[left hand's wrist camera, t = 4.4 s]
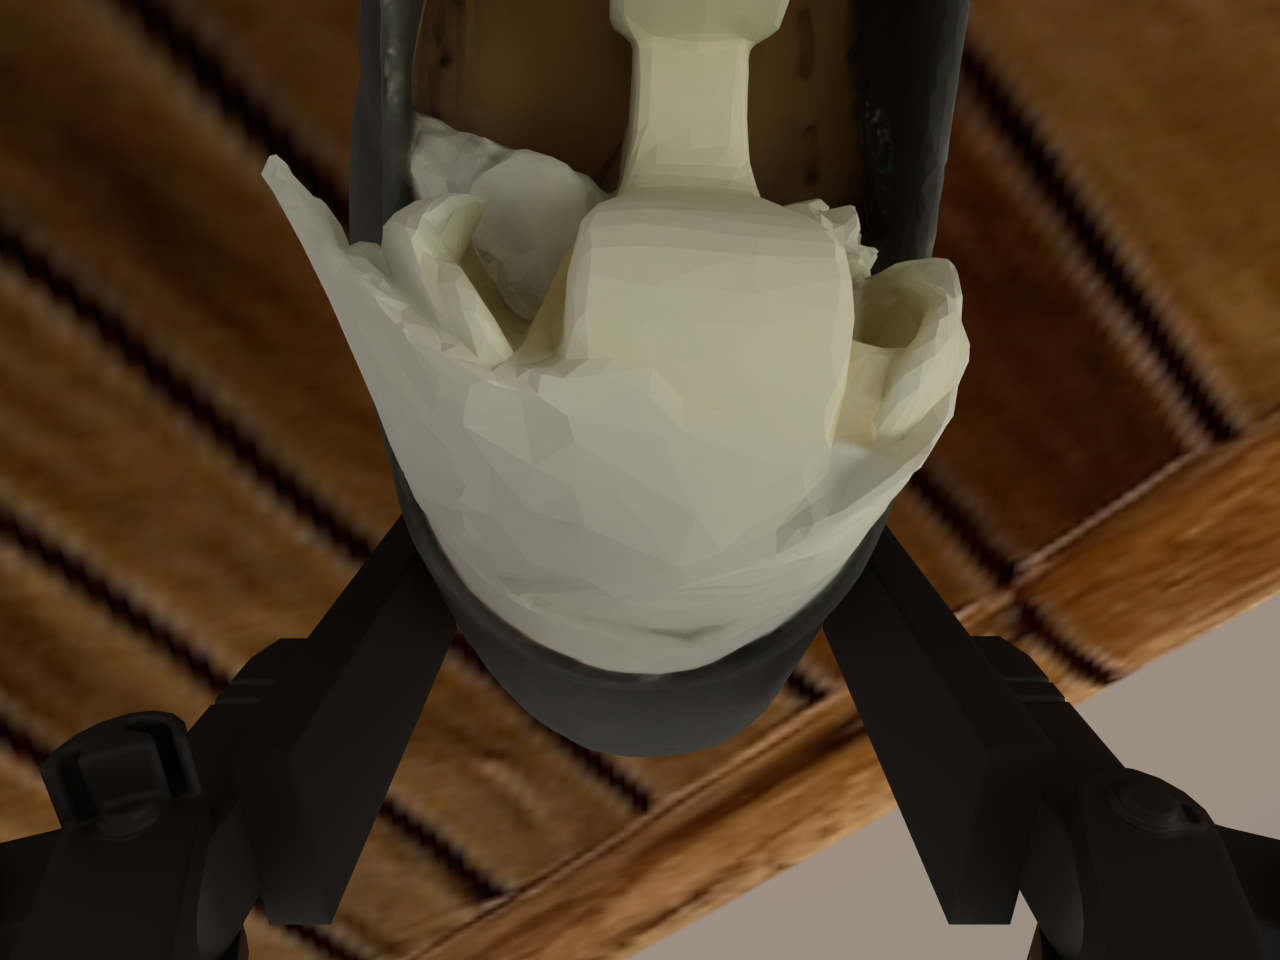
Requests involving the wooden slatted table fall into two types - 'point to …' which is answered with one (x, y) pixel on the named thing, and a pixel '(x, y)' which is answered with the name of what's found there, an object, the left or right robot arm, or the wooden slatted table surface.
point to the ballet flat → (647, 327)
